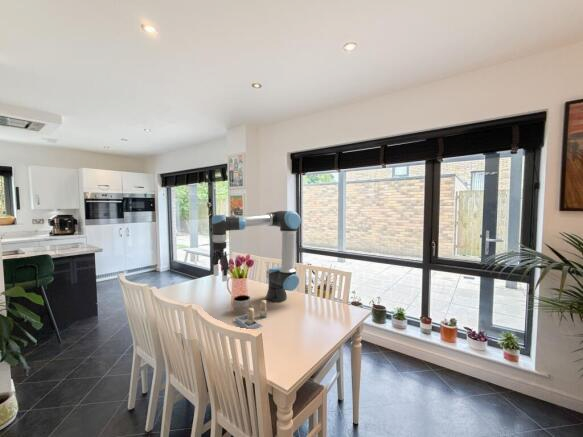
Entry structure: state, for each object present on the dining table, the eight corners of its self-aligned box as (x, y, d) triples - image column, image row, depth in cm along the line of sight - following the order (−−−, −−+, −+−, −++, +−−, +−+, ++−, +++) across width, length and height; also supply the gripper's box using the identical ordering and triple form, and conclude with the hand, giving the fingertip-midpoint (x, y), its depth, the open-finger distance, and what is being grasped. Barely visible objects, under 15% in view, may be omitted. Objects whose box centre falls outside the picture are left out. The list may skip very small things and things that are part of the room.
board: (250, 317, 159) (250, 312, 159) (263, 327, 146) (263, 322, 146) (232, 322, 152) (231, 318, 151) (244, 333, 139) (244, 328, 139)
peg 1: (252, 324, 148) (251, 307, 148) (255, 326, 145) (255, 309, 144) (245, 326, 146) (245, 309, 145) (249, 329, 143) (248, 311, 142)
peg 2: (264, 315, 161) (264, 299, 160) (267, 317, 157) (267, 301, 157) (258, 316, 158) (258, 301, 158) (262, 319, 155) (261, 303, 154)
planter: (254, 311, 168) (253, 296, 167) (242, 317, 158) (242, 302, 158) (241, 307, 173) (241, 293, 173) (229, 313, 164) (229, 299, 163)
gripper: (205, 239, 155) (206, 274, 157) (221, 245, 135) (222, 284, 137) (218, 238, 160) (218, 272, 161) (234, 243, 140) (235, 282, 141)
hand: (220, 278), depth 149 cm, fingers open, 13 cm apart
